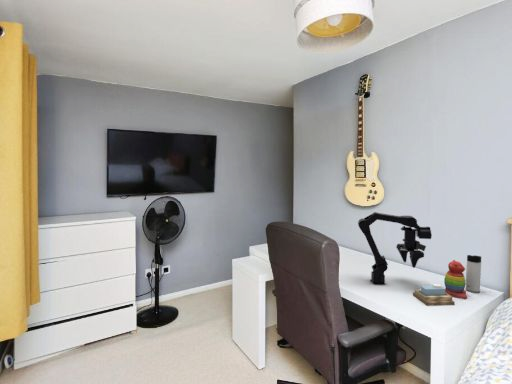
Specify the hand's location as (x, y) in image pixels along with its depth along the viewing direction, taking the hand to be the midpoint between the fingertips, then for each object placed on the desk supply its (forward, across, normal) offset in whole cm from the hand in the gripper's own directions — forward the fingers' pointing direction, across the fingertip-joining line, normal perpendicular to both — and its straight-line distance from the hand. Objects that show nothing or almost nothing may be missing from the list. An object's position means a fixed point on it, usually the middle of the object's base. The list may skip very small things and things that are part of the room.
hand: (409, 264), depth 168 cm
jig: (+12, -19, -2) cm, 23 cm away
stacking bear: (+12, -13, -18) cm, 25 cm away
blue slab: (+10, -19, -2) cm, 22 cm away
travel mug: (+12, -10, -30) cm, 34 cm away
